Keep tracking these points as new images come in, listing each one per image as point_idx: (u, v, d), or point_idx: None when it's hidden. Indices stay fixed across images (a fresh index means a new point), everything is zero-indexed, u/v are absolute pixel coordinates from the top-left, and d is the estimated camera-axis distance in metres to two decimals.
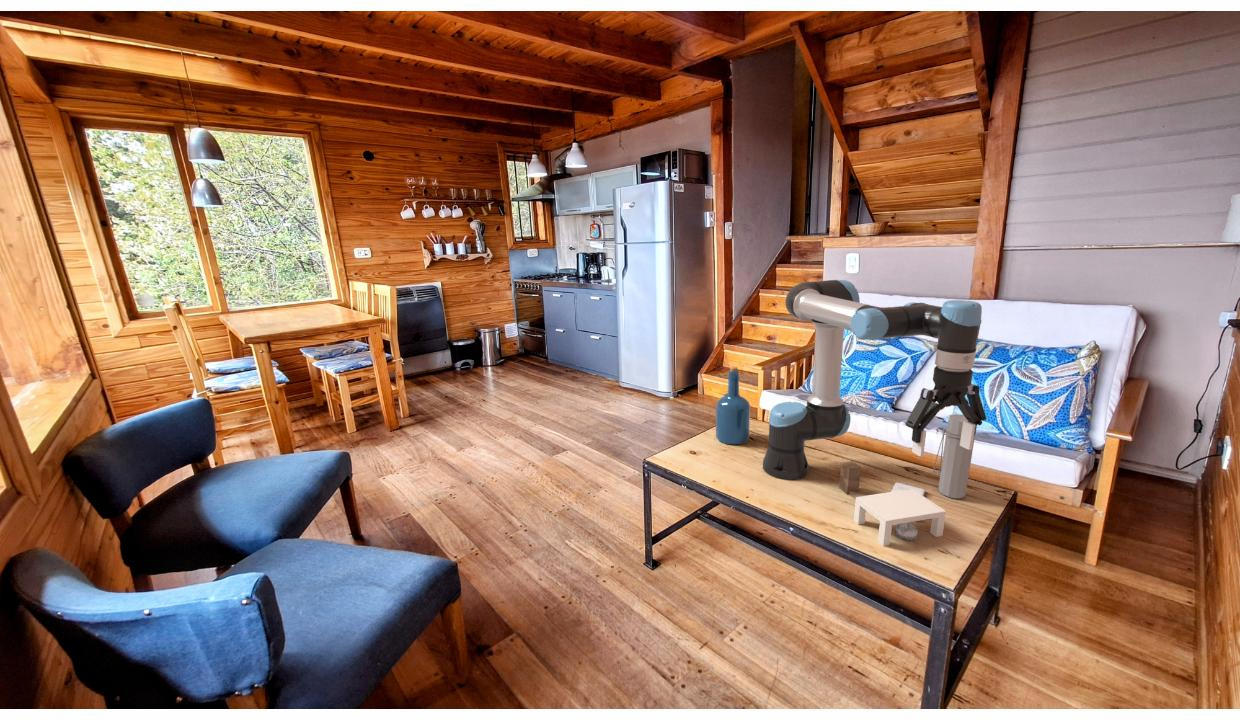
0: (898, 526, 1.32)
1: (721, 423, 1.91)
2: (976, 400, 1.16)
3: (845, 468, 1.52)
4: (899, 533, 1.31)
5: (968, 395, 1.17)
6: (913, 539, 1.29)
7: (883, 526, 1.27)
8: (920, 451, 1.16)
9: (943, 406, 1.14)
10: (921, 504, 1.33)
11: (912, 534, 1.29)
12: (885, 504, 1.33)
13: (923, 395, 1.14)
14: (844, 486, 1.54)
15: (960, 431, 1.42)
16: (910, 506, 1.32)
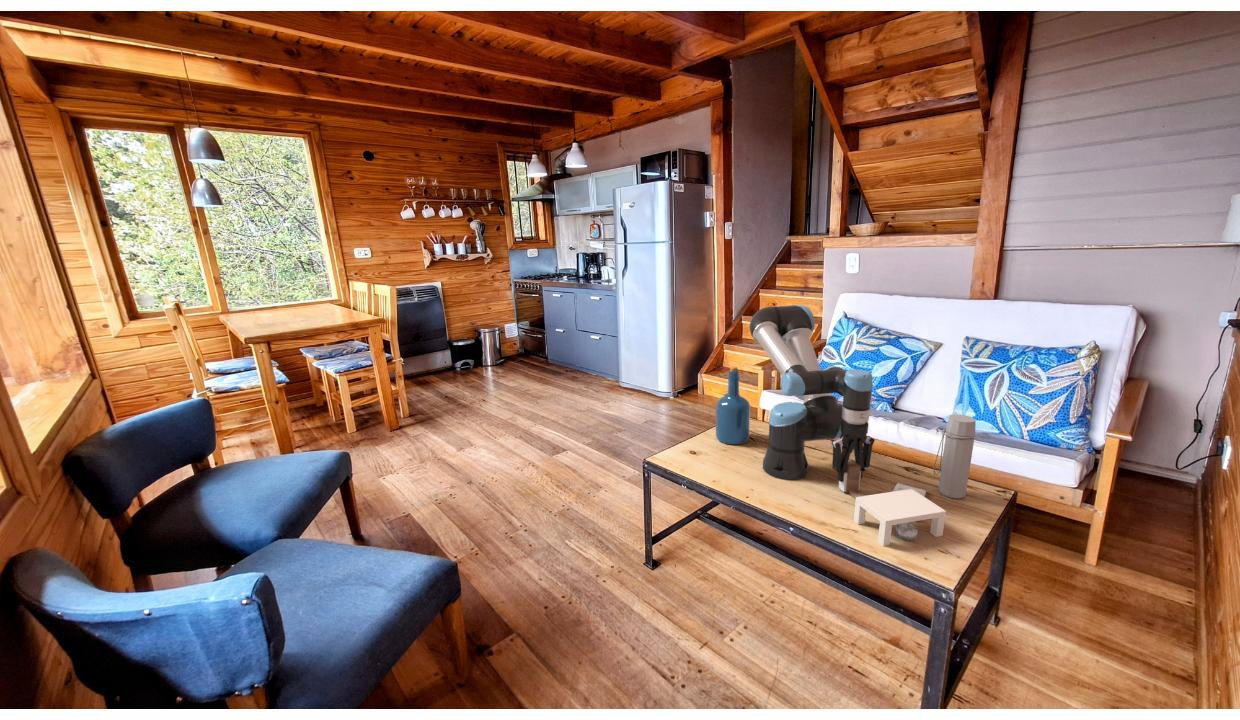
0: (898, 526, 1.32)
1: (721, 423, 1.91)
2: (868, 449, 1.51)
3: None
4: (899, 533, 1.31)
5: (864, 444, 1.53)
6: (913, 539, 1.29)
7: (883, 526, 1.27)
8: (843, 488, 1.53)
9: (851, 451, 1.49)
10: (921, 504, 1.33)
11: (912, 534, 1.29)
12: (885, 504, 1.33)
13: (834, 446, 1.50)
14: None
15: (960, 431, 1.43)
16: (910, 506, 1.32)
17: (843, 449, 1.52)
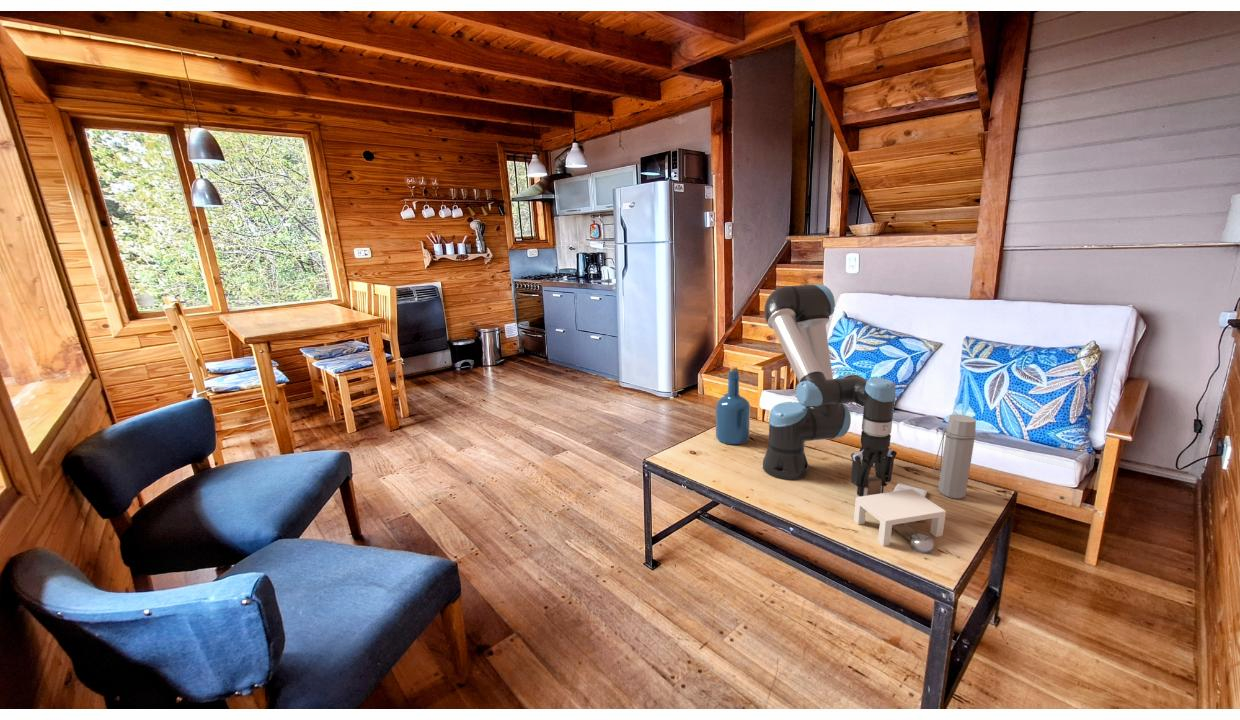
0: (913, 538, 1.27)
1: (721, 423, 1.91)
2: (890, 462, 1.42)
3: None
4: (914, 545, 1.26)
5: (885, 457, 1.44)
6: (929, 552, 1.24)
7: (883, 526, 1.27)
8: None
9: (871, 464, 1.40)
10: (921, 504, 1.33)
11: (927, 546, 1.24)
12: (885, 504, 1.33)
13: (853, 459, 1.41)
14: None
15: (960, 431, 1.43)
16: (910, 506, 1.32)
17: (863, 462, 1.43)
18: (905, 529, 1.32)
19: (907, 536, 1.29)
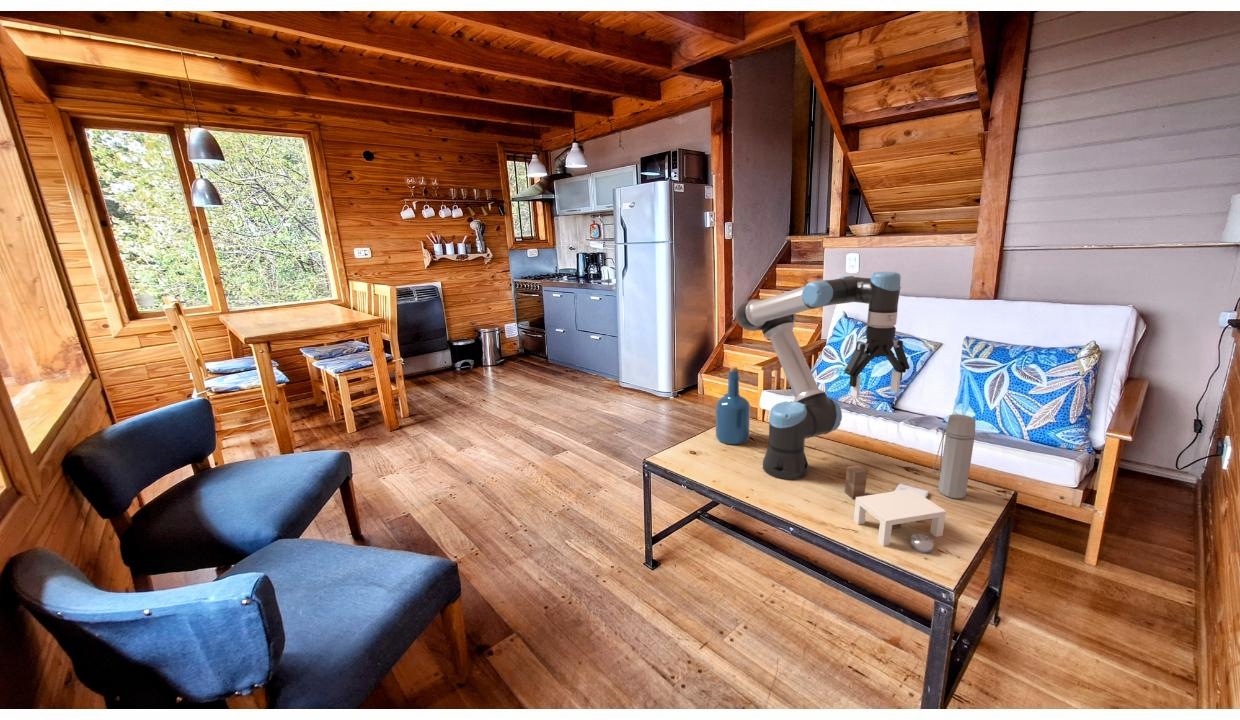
0: (913, 538, 1.27)
1: (721, 423, 1.91)
2: (900, 352, 1.45)
3: (851, 472, 1.50)
4: (914, 545, 1.26)
5: (895, 349, 1.46)
6: (929, 552, 1.24)
7: (883, 526, 1.27)
8: (856, 393, 1.45)
9: (873, 356, 1.43)
10: (921, 504, 1.33)
11: (927, 546, 1.24)
12: (885, 504, 1.33)
13: (857, 348, 1.43)
14: (850, 491, 1.51)
15: (960, 431, 1.43)
16: (910, 506, 1.32)
17: (864, 354, 1.45)
18: None
19: None
